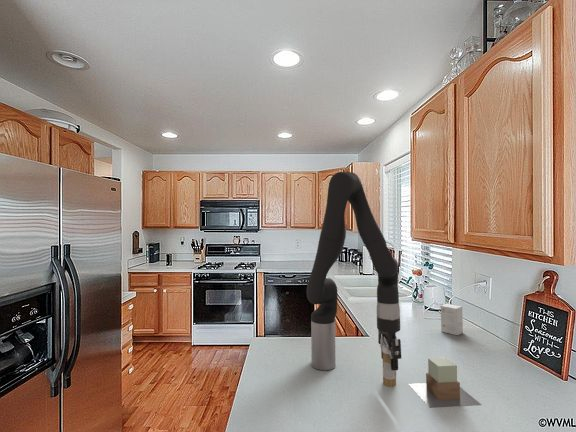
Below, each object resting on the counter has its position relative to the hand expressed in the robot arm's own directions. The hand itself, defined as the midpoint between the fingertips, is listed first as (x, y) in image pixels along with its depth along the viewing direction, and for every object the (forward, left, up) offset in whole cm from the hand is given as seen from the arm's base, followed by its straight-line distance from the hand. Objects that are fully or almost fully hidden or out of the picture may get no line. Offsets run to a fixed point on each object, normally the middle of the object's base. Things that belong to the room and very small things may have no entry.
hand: (389, 364), depth 109 cm
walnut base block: (+7, +14, -7) cm, 17 cm away
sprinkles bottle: (-1, 0, -8) cm, 8 cm away
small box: (-50, +52, -8) cm, 72 cm away
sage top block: (+7, +14, -2) cm, 16 cm away
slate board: (+7, +14, -8) cm, 18 cm away
